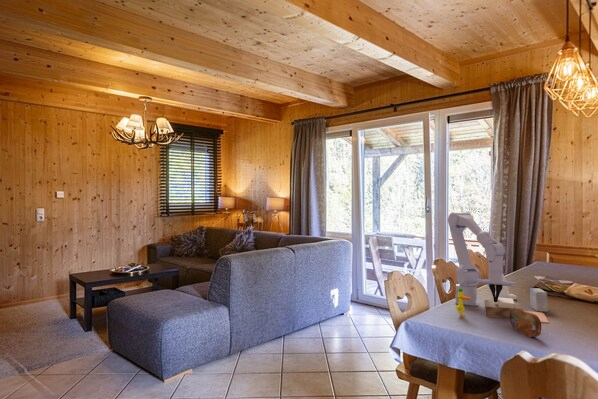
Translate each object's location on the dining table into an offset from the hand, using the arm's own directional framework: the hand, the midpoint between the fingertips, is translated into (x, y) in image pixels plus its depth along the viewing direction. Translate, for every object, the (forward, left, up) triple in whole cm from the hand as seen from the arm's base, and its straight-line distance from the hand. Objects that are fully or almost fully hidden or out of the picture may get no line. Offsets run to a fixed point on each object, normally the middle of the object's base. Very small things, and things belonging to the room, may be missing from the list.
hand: (495, 301), depth 170 cm
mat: (+14, 0, -5) cm, 15 cm away
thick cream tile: (+4, 0, -1) cm, 4 cm away
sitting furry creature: (+5, +29, -5) cm, 30 cm away
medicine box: (+18, +14, -5) cm, 23 cm away
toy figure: (-13, -11, -5) cm, 18 cm away
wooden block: (+3, 0, -5) cm, 6 cm away
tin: (+9, -23, -5) cm, 25 cm away
